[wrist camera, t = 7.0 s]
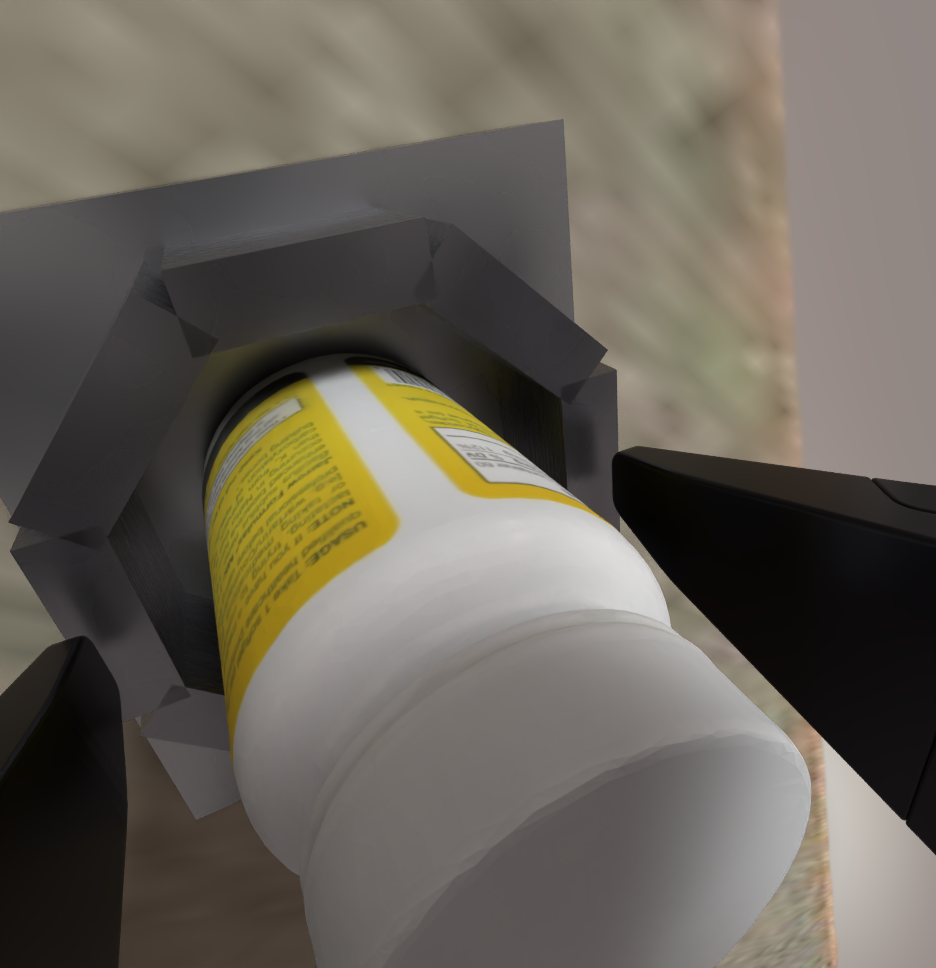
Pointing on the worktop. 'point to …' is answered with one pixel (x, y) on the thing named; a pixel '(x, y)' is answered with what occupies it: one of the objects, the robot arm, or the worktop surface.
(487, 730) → the supplement bottle
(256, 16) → the worktop surface
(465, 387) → the socket plate
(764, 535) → the robot arm
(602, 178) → the worktop surface
